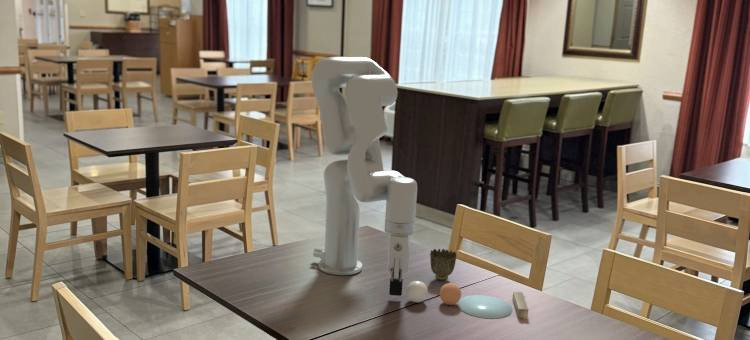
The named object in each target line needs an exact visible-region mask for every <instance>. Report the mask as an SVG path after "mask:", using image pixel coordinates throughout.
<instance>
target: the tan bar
mask: <svg viewBox="0 0 750 340" xmlns="http://www.w3.org/2000/svg"><path fill="white" fill-rule="evenodd" d="M512 303H513V308H514V310H515V313H516V316H517V317H518V318H517V319H521V318H525V319H524V320H528V318H529V316H528V315H529V307H528V304H527V302H526V299H525V296H524V293H523V291H521V292H520V291H513V292H512Z"/></svg>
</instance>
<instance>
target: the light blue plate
mask: <svg viewBox="0 0 750 340" xmlns="http://www.w3.org/2000/svg"><path fill="white" fill-rule="evenodd" d="M456 304H457V308H458V309H459V310H460V311H462V312H463V313H465V314H467V315H470V316H473V317H477V318H481V319H482V318H483V319H492V320H493V319H503V318H505V317H509V315H511V314H512V312H513V308H512V305H511V304H510V303H509V302H507V301H505V300H504V299H501V298H498V297H494V296H490V295H482V294H481V295H480V294H472V295H467V296H463V297H461V298H460V300H459V301H458V302H457V303H456Z"/></svg>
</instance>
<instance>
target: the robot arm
mask: <svg viewBox="0 0 750 340" xmlns="http://www.w3.org/2000/svg"><path fill="white" fill-rule="evenodd" d="M311 86H312V90H313V95H314V97H315V99H316V102H317V105H318V110H319V114H320V115H319V116H320V123H321V128H322V129H321V130H322V137H323V142H324V143H323V144H324V147H325V150H326V152H327V153H328V154H329V155H332V156H345V155H346V156H348V157H347V159H340V160H336V161H333V162H330V163H329V164H328V165H327V166H326V167H325V168H324V172H323V182H324V190H325V232H324V233H325V234H324V248H320V247H315V248H313V249H314V250H313V254H312V255H313V257H315V258H319V259H320V260H319V262H318V269H319V270H320V271H322V272H323V273H326V274H328V275H335V276H350V275H355V274H358V273H360V272H361V271H362V270H363V263H362V262H361V261H360V260H358V255H359V252H358V251H359V234H360V216H361V215H360V213H361V211H360V205H359V203H358V201H359V202H361V203H374V202H375V203H376V202H378V201H385V205H386V206H385V219H384V220H385V221H384V232H385V233H386V234H388V251H387V252H388V254H387V255H388V256H387V258H388V259H387V261H388V272H389V273H391V275H390V279H389V292H388V294H389V295H390V296H397V297H400V296H402V295H403V283H404V282H403V281H404V280H403V274H405V275H406V274H409V273H408V272H409V265H410V264H409V261H410V248H411V236H413V235H414V234H415V228H416V227H415V225H416V213H417V211H416V210H417V200H418V199H417V197H418V182H417V181H416V180H415V179H414V178H411V177H406V176H404V175H403V174H402V173H400V172H399V171H396V170H392V169H391V170H385V169H384V165H383V164H384V163H383V157H382V151H381V143H380V138H382V137H384V136H385V134H387V132H388V127H387V122H386V119H385V114H384V110H383V107H389V106H392V105H394V104H395V102H396V100H397V98H398V88H397V84H396V82H395V80H394V78H393V77H392V76H391V74H389V73H388V72H387V71H386V70H385V69H383V67H381V66H380V65H379V64H378V63H377V62H375V61H374V60H372V59H371V58H369V57H364V56H363V57H362V56H330V57H329V56H328V57H324V58H321V59H320V60H318V61H317V62H316V63H315V64H314V66H313V68H312V72H311ZM340 88H341V89H343V88H344V89H345V96H346V97H345V96H344V94H343V93H342V92H341V91H340V90H339V89H340ZM356 199H357V200H356Z"/></svg>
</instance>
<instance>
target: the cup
mask: <svg viewBox="0 0 750 340" xmlns="http://www.w3.org/2000/svg"><path fill="white" fill-rule="evenodd" d="M429 256H430V270H431V272H432V273H433V274H434V278H435V280H436V281H439V282H446V281H447V280H449V276H450V275H452V274H453V272H454V270H455V266H456V263H457V262H456V261H457V252H456V251H453V250H452V249H451V250H450V251H449V249H448V248H446V249H445V248H443V249H440V248H438V249H436V248H433V249H432V250H430V253H429Z"/></svg>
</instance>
